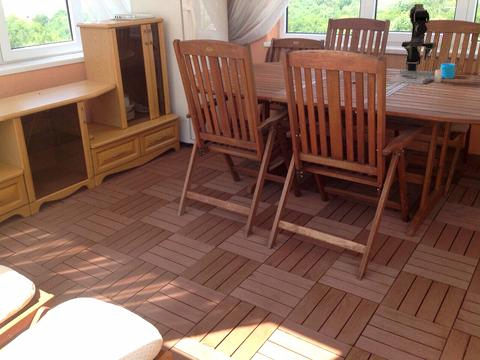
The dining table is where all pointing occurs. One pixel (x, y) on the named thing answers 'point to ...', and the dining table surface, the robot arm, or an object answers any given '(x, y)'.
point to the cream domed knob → (438, 76)
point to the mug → (447, 70)
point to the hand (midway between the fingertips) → (417, 59)
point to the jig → (412, 77)
